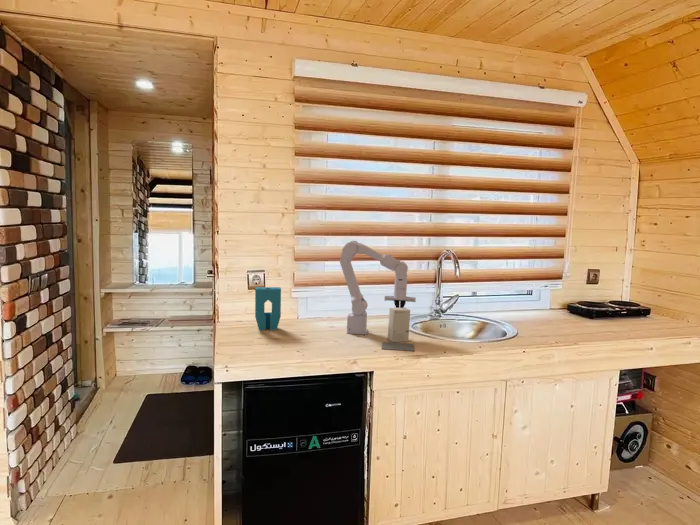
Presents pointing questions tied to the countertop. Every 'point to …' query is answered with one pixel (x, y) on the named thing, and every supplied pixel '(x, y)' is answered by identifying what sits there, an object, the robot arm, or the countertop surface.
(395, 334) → the skincare box
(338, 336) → the countertop surface
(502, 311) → the countertop surface
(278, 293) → the block
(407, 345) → the mat
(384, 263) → the robot arm
